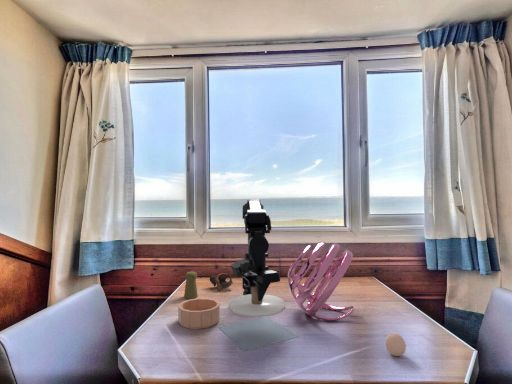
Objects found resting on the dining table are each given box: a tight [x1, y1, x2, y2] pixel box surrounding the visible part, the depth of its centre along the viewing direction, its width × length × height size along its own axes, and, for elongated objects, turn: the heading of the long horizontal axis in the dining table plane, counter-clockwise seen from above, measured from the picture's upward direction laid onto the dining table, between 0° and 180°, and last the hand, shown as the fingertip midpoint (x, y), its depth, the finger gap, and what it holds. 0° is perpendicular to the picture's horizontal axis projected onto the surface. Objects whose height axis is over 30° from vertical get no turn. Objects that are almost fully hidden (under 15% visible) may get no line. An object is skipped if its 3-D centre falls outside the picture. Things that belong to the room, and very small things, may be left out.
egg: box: [385, 332, 407, 357], centre depth 85 cm, size 5×5×6 cm
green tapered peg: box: [183, 271, 199, 300], centre depth 137 cm, size 6×6×11 cm
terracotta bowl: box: [177, 297, 221, 330], centre depth 109 cm, size 14×14×6 cm
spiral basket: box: [287, 241, 355, 322], centre depth 115 cm, size 28×28×27 cm
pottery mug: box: [209, 272, 234, 292], centre depth 150 cm, size 12×10×8 cm
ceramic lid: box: [228, 285, 286, 318], centre depth 99 cm, size 18×18×6 cm
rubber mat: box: [217, 316, 300, 353], centre depth 99 cm, size 19×19×1 cm
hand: (257, 299), depth 99 cm, fingers closed on ceramic lid, 4 cm apart
